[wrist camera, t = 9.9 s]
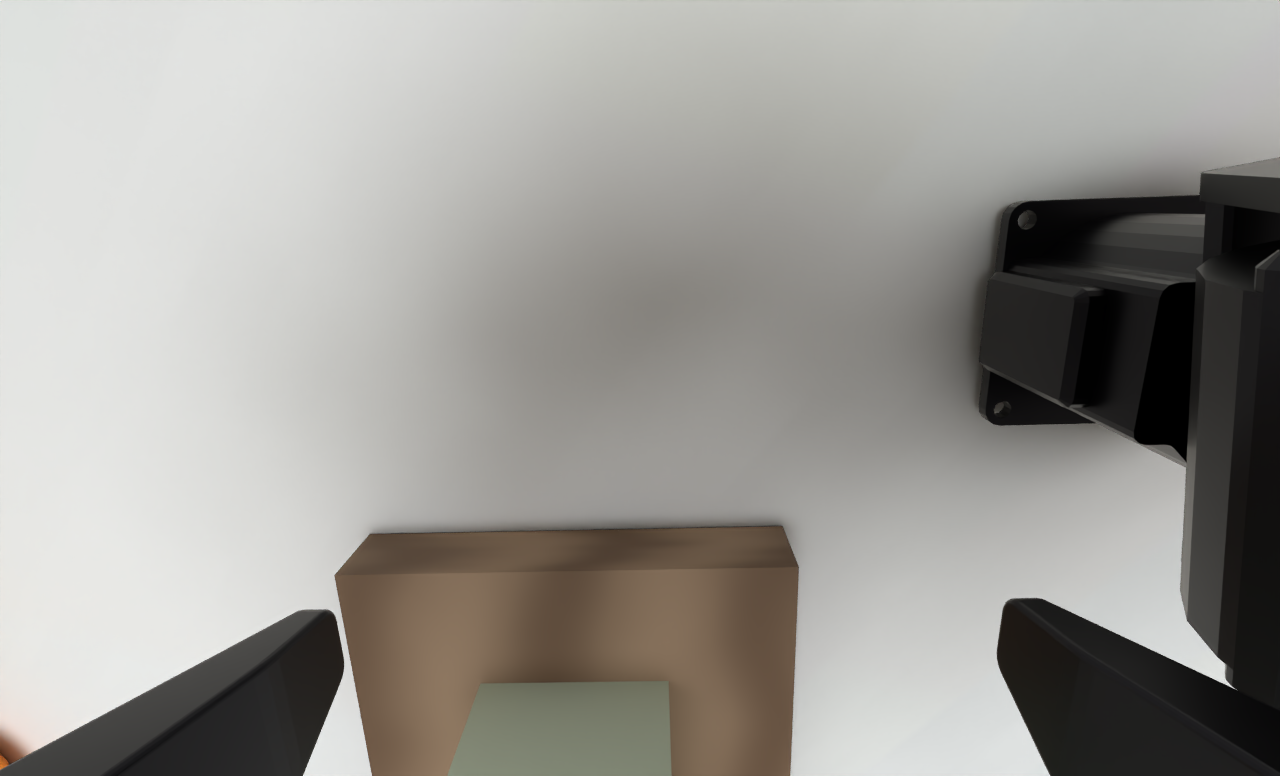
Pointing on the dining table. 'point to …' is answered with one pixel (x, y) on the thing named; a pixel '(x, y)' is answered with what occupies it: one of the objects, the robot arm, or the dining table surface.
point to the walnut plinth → (576, 634)
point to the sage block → (567, 730)
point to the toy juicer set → (3, 762)
